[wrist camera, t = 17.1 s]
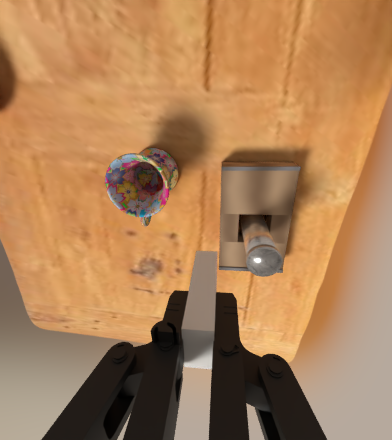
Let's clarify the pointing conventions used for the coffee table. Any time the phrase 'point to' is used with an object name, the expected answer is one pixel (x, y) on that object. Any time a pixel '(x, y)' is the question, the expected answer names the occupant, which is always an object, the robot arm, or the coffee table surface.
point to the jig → (255, 205)
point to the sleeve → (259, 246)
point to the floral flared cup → (141, 182)
